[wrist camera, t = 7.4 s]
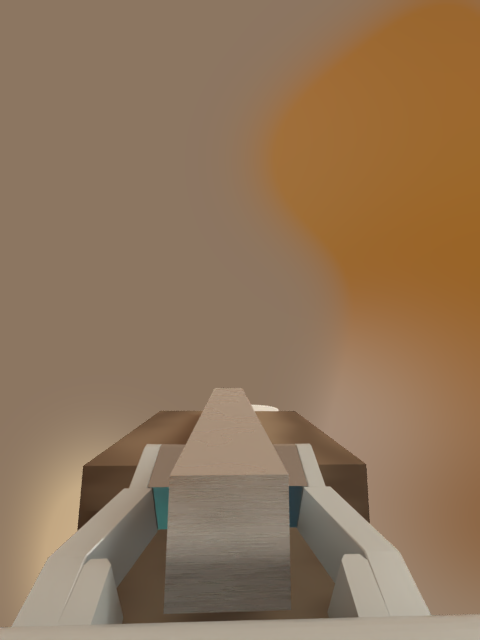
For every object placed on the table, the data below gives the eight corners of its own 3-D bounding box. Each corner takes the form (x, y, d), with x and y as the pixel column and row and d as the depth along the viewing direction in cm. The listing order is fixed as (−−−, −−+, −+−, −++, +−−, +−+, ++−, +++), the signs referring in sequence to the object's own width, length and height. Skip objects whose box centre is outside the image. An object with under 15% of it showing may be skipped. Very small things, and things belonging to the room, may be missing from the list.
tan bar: (242, 416, 25) (242, 388, 26) (290, 609, 6) (288, 474, 6) (214, 416, 25) (214, 388, 26) (163, 614, 5) (169, 475, 6)
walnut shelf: (301, 710, 25) (294, 411, 29) (411, 1240, 10) (366, 464, 14) (144, 716, 24) (160, 410, 28) (8, 1288, 9) (83, 466, 13)
